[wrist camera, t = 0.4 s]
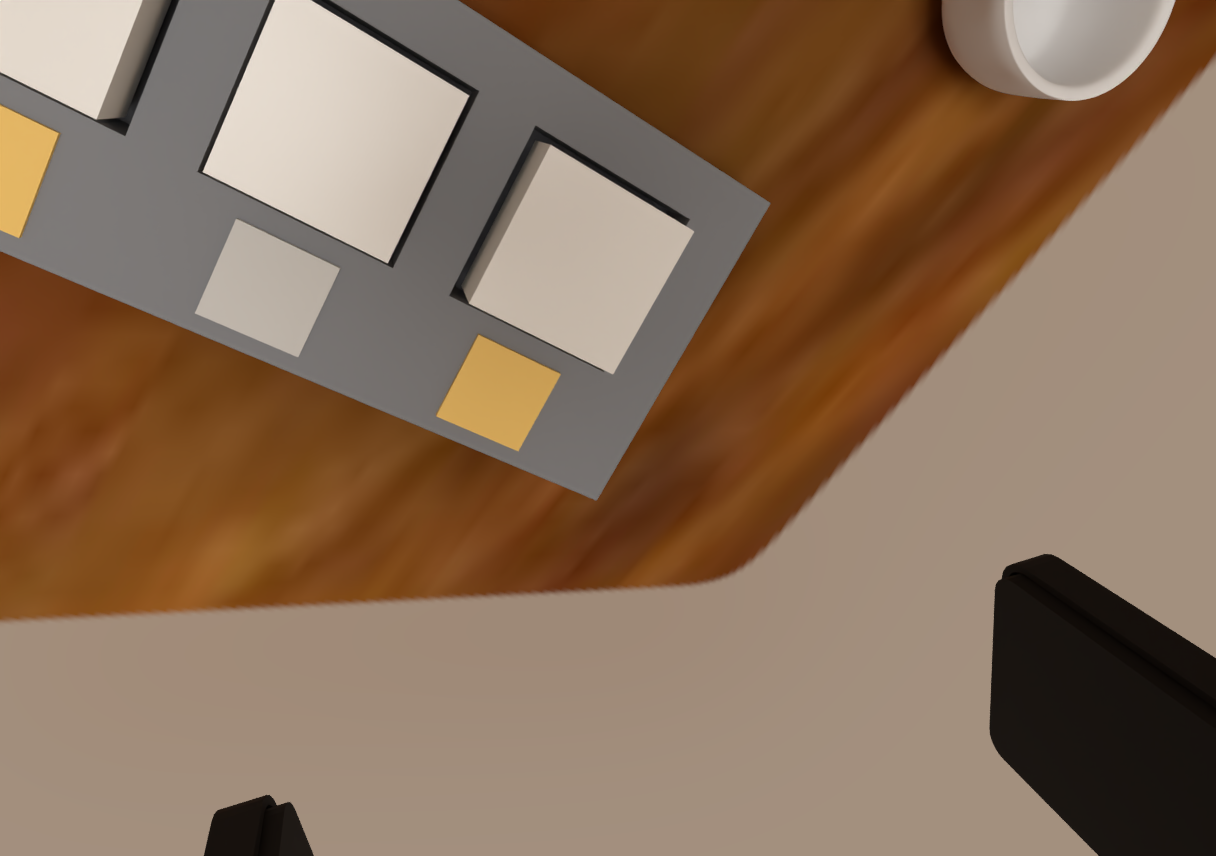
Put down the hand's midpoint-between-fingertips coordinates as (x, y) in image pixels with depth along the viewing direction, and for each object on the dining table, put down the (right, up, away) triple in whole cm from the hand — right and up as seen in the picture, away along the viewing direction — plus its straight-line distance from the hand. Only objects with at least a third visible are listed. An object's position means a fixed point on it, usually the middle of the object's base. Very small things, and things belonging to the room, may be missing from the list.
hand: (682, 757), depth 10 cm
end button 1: (-3, +11, +21) cm, 24 cm away
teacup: (+15, +23, +24) cm, 37 cm away
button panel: (-11, +14, +20) cm, 27 cm away
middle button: (-10, +14, +18) cm, 25 cm away
